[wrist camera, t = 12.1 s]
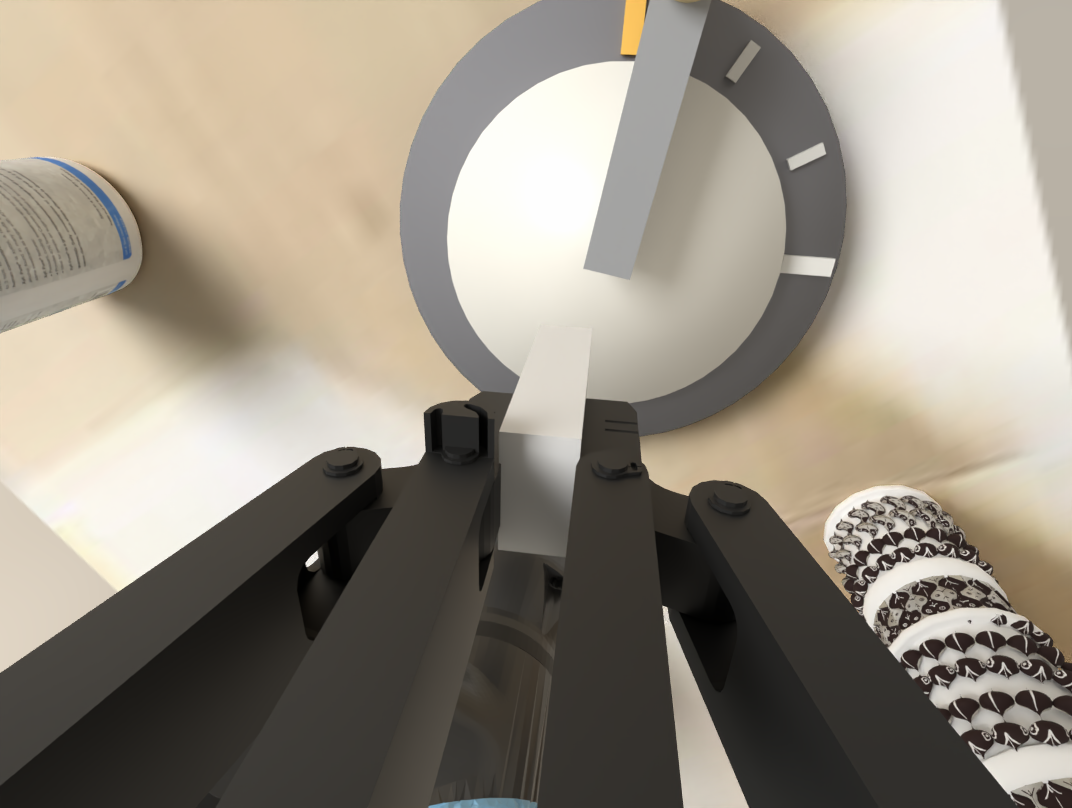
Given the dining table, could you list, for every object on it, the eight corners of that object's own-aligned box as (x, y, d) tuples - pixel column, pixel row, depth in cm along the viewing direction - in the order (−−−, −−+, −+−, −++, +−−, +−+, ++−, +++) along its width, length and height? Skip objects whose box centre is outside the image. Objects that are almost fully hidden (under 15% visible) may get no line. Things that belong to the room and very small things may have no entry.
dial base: (770, 436, 41) (781, 460, 38) (424, 398, 43) (410, 418, 40) (892, 1, 29) (922, -13, 26) (404, -14, 31) (381, -28, 28)
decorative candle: (971, 487, 40) (1391, 934, 18) (924, 582, 44) (1218, 1038, 22) (838, 472, 41) (1084, 878, 19) (804, 566, 45) (974, 988, 23)
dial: (710, 424, 37) (727, 485, 31) (436, 355, 38) (399, 401, 32) (890, -12, 26) (974, -54, 20) (496, -100, 27) (456, -168, 20)
